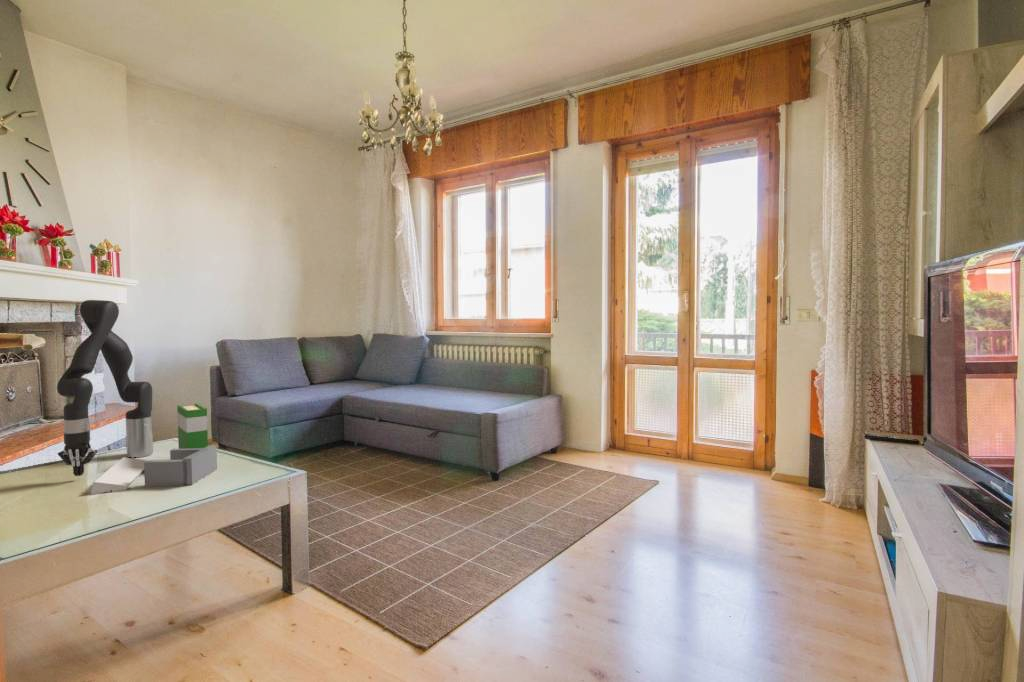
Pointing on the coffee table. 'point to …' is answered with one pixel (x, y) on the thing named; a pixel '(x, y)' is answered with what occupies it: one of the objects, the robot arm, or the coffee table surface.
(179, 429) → the hardback book
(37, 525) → the coffee table surface
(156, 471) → the end cap
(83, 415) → the robot arm
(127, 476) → the decorative molding
